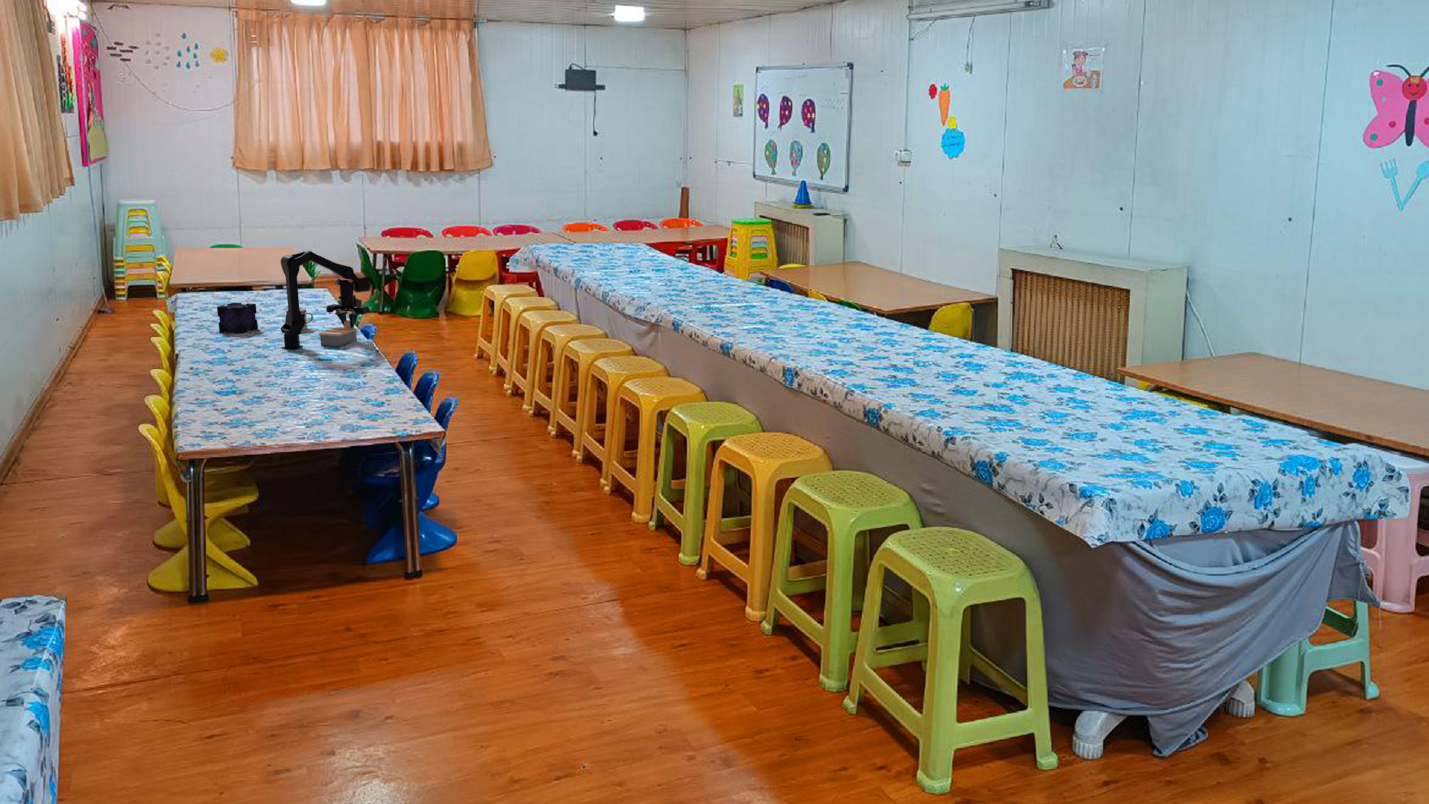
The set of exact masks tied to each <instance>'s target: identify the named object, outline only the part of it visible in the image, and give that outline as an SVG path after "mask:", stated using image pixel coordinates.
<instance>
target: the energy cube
mask: <svg viewBox="0 0 1429 804" xmlns="http://www.w3.org/2000/svg"><path fill="white" fill-rule="evenodd" d="M216 313H217V317H219V322H218V323H217V324H218V331H219V333H222V332H227V333H226V334H228V332H229V333H233V334H237V335H238V334H239V335H242V334H247V333H248V332H249V331H256V330H259V325H258V319H257V318H256V317H257V316H256V314H257V313H258V311H257V304H256V303H248V302H247V303H245V304H243V303H242V302H230V303H227V305H219V306H216ZM246 332H247V333H246Z"/></svg>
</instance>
